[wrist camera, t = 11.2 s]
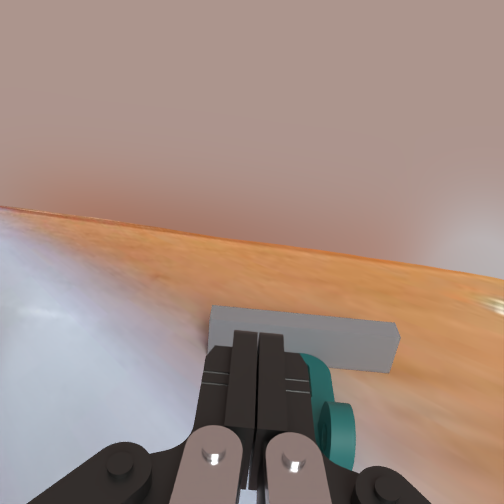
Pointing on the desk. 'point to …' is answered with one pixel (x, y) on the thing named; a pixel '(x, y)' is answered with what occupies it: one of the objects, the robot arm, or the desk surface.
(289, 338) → the board
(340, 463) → the bracket
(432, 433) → the desk surface
